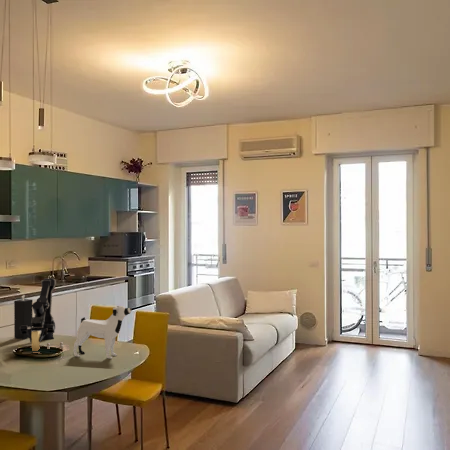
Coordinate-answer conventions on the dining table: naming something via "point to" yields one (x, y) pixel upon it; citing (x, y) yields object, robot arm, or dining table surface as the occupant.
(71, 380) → the dining table surface
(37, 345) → the post
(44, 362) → the dining table surface
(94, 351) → the dining table surface
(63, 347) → the board
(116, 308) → the decorative sculpture
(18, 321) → the black square column
